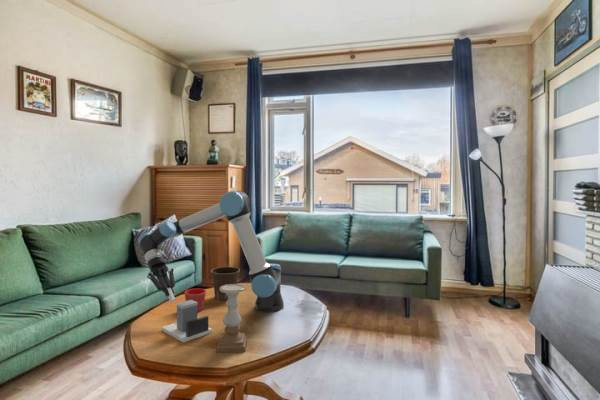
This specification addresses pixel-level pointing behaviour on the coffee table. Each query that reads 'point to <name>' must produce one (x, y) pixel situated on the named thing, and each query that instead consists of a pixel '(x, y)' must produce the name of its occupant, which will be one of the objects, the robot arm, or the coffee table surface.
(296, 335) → the coffee table surface
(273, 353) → the coffee table surface
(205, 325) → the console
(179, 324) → the grey rectangular block
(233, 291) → the candle holder
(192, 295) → the flower pot
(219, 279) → the plant pot
